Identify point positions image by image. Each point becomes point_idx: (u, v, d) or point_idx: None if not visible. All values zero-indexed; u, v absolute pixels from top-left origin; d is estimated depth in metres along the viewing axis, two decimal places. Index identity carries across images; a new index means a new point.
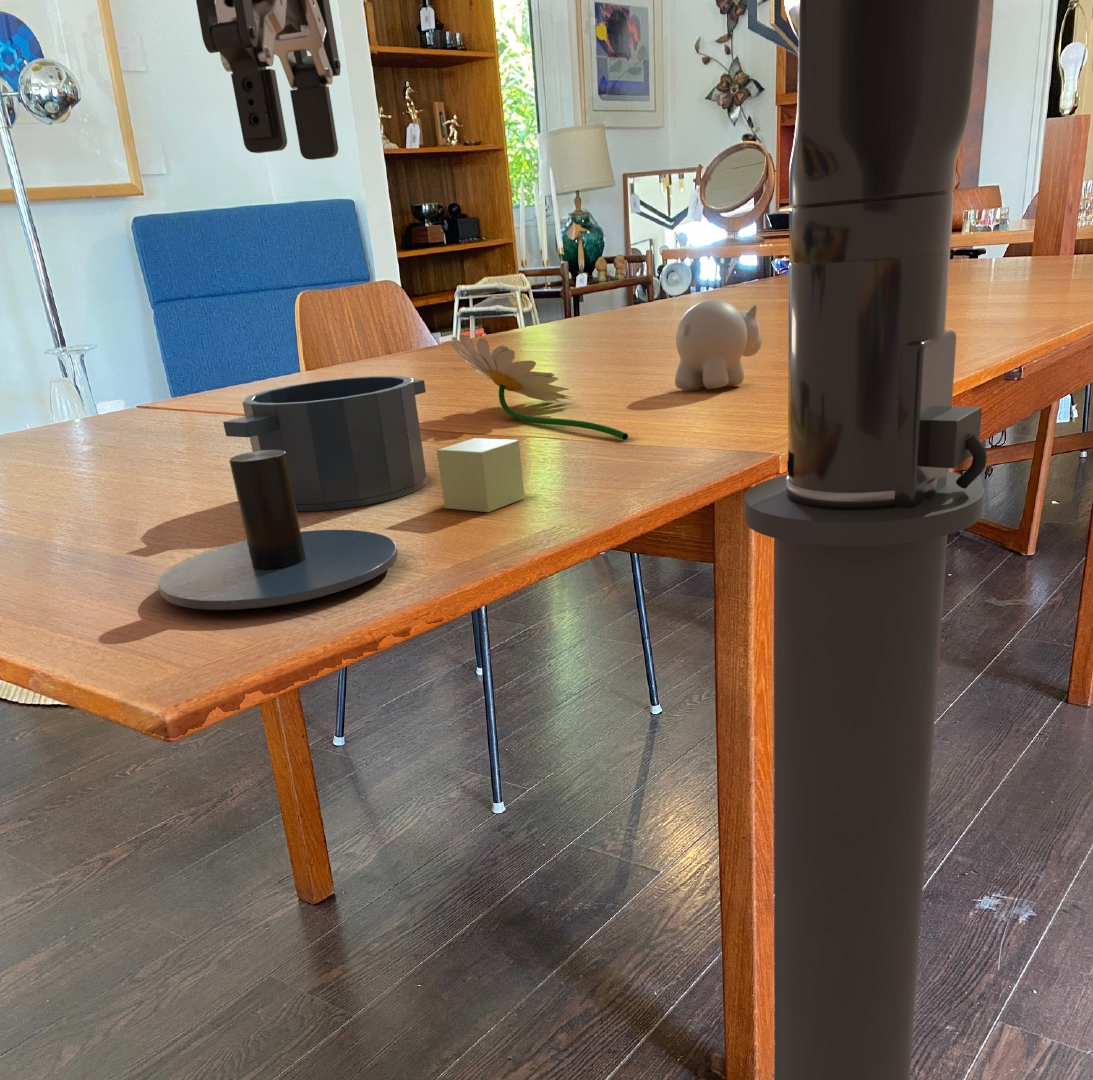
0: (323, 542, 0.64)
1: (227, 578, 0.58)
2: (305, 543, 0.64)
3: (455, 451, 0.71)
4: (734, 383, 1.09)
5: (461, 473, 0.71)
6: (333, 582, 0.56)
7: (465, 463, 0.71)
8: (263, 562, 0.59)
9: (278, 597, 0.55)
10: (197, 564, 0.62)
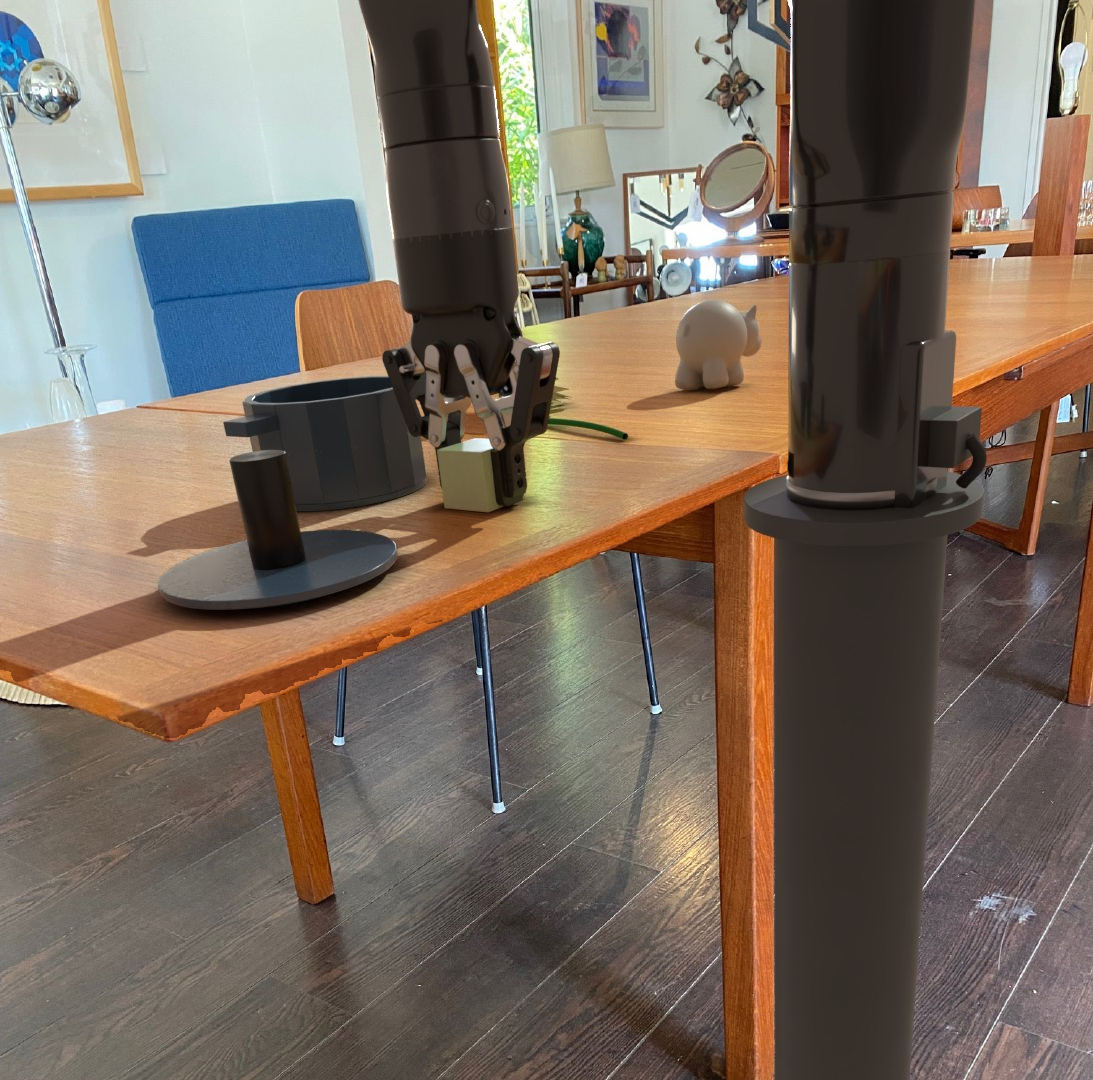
0: (323, 542, 0.64)
1: (227, 578, 0.58)
2: (305, 543, 0.64)
3: (455, 451, 0.71)
4: (734, 383, 1.09)
5: (461, 473, 0.71)
6: (333, 582, 0.56)
7: (465, 463, 0.71)
8: (263, 562, 0.59)
9: (278, 597, 0.55)
10: (197, 564, 0.62)
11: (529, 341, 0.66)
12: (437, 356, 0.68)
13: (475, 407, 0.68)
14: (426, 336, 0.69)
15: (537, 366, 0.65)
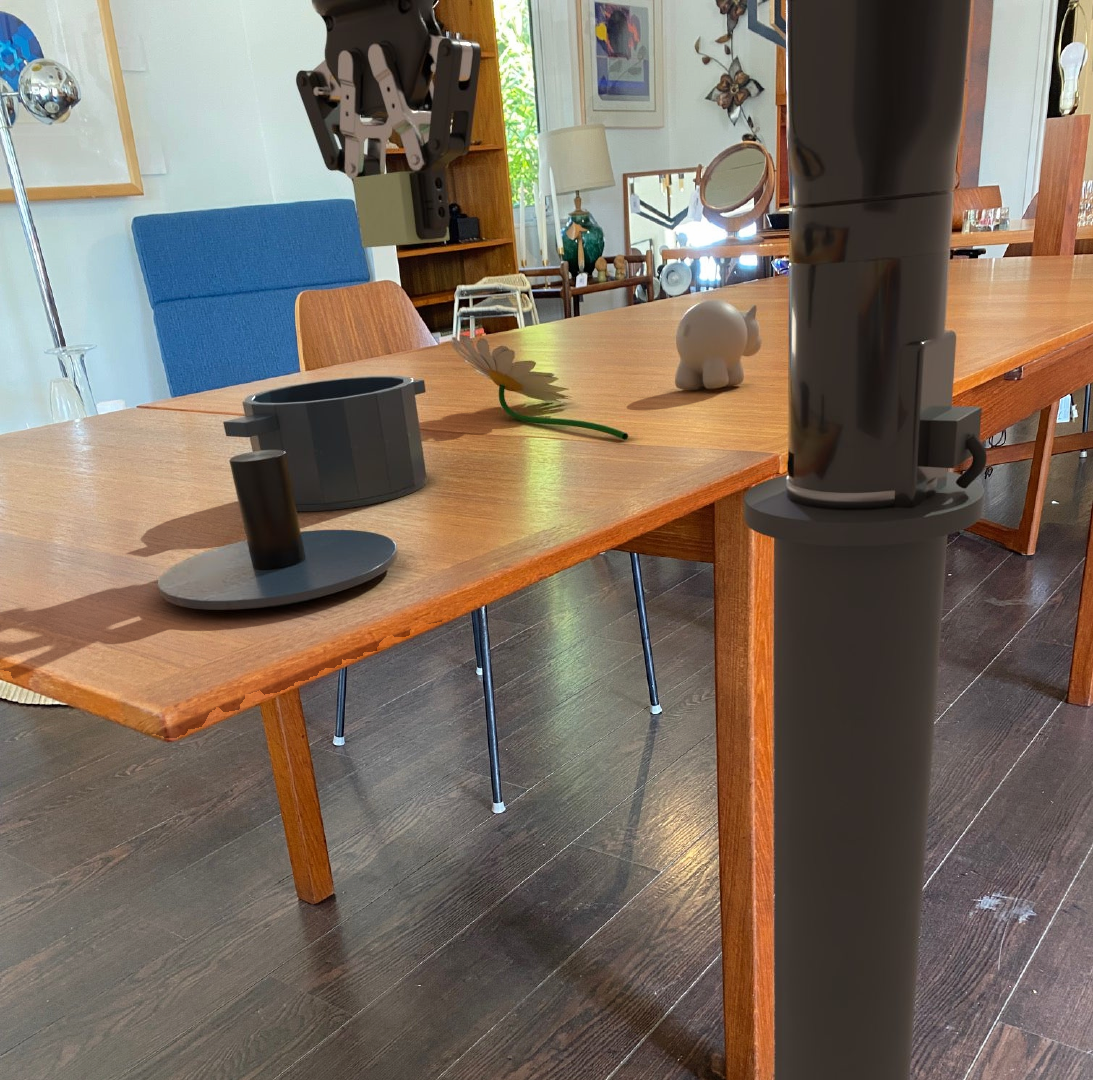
0: (323, 542, 0.64)
1: (227, 578, 0.58)
2: (305, 543, 0.64)
3: (372, 176, 0.66)
4: (734, 383, 1.09)
5: (378, 202, 0.66)
6: (333, 582, 0.56)
7: (382, 188, 0.65)
8: (263, 562, 0.59)
9: (278, 597, 0.55)
10: (197, 564, 0.62)
11: None
12: (351, 63, 0.63)
13: (391, 119, 0.63)
14: (340, 45, 0.64)
15: (455, 61, 0.60)
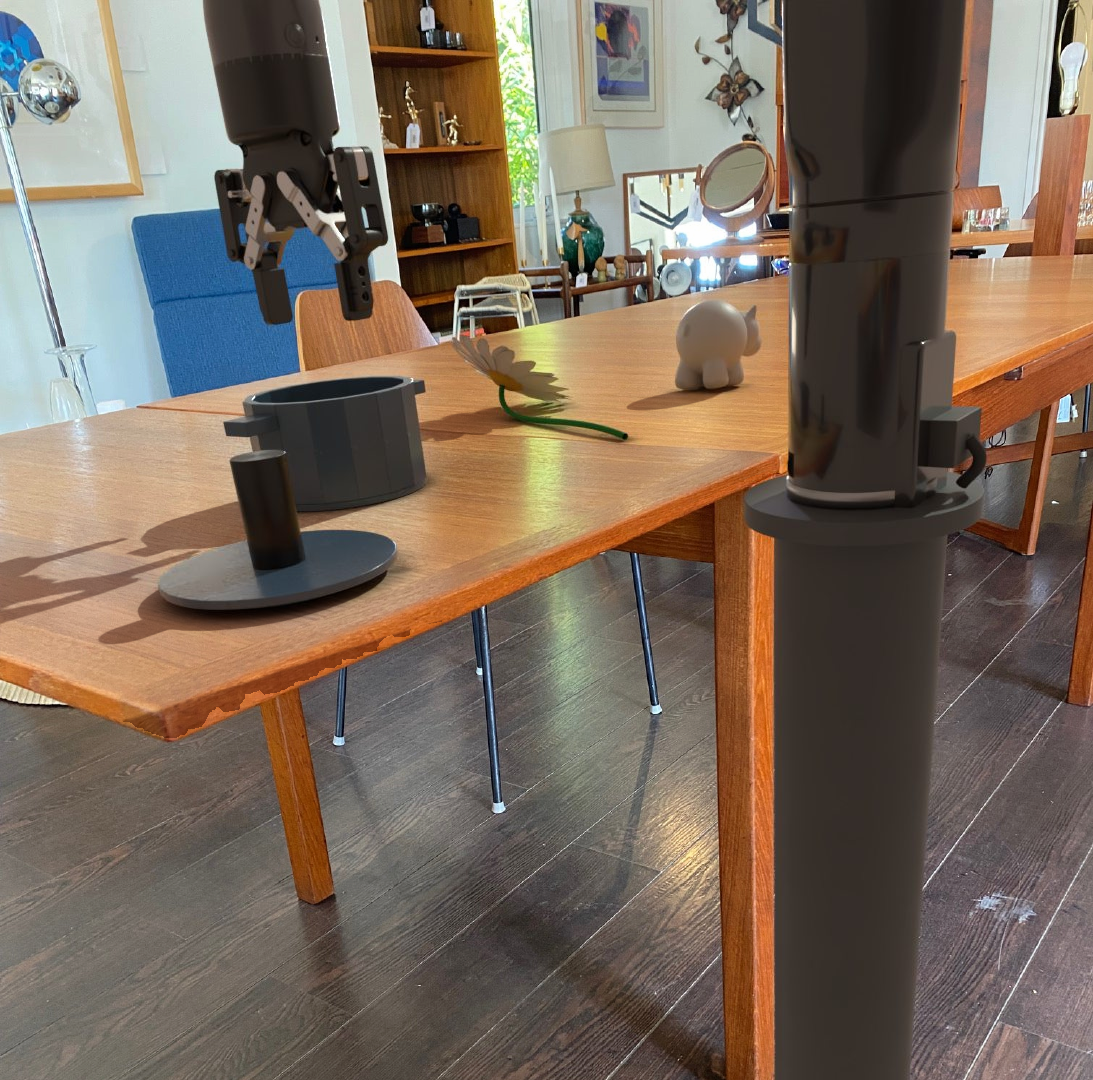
0: (323, 542, 0.64)
1: (227, 578, 0.58)
2: (305, 543, 0.64)
3: None
4: (734, 383, 1.09)
5: None
6: (333, 582, 0.56)
7: None
8: (263, 562, 0.59)
9: (278, 597, 0.55)
10: (197, 564, 0.62)
11: None
12: (263, 186, 0.72)
13: (310, 227, 0.71)
14: (256, 174, 0.73)
15: (350, 162, 0.68)
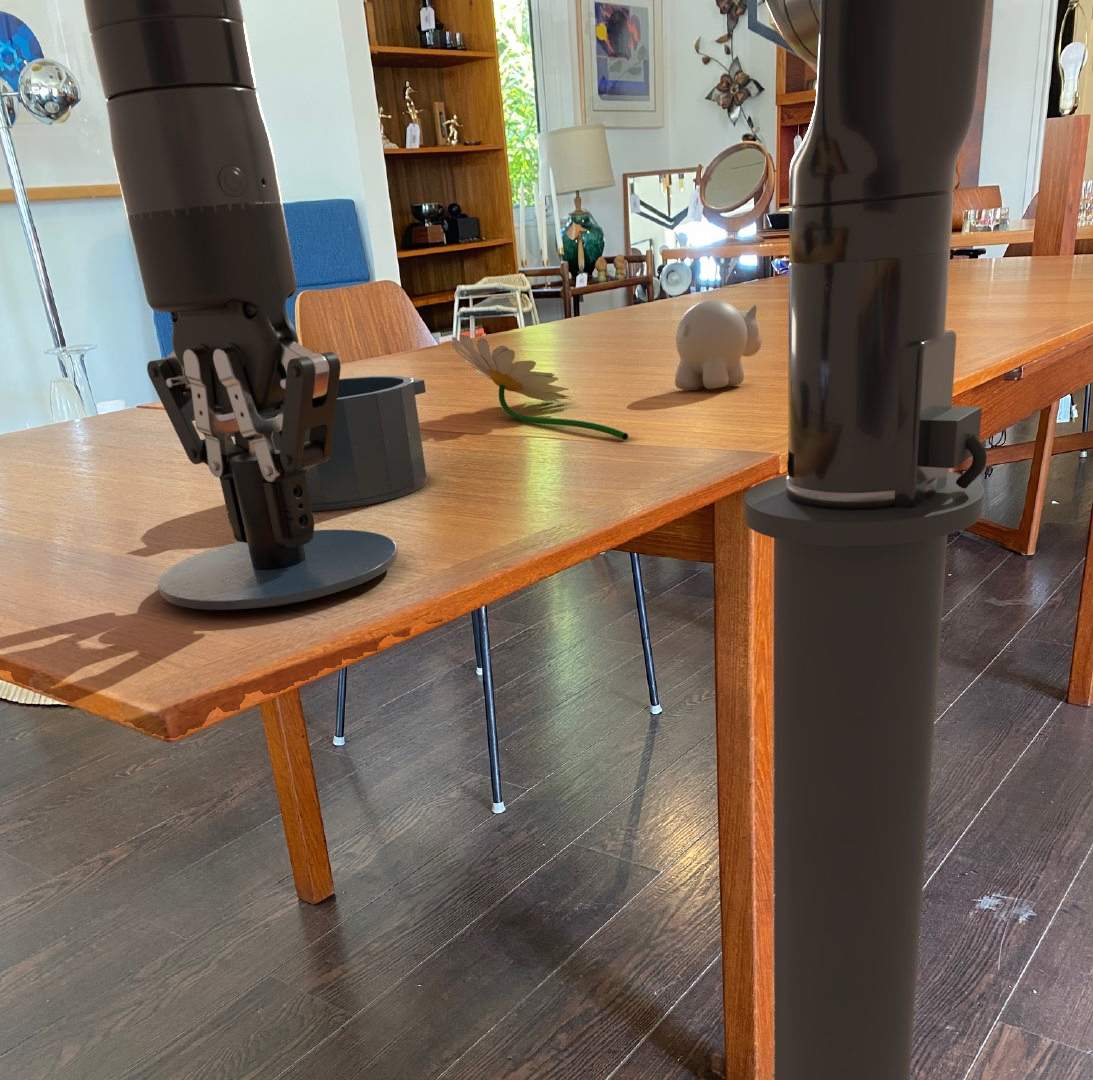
0: (323, 542, 0.64)
1: (227, 578, 0.58)
2: None
3: None
4: (734, 383, 1.09)
5: None
6: (333, 582, 0.56)
7: None
8: (263, 562, 0.59)
9: (278, 597, 0.55)
10: (197, 564, 0.62)
11: (302, 349, 0.53)
12: (196, 363, 0.55)
13: (240, 427, 0.55)
14: (186, 337, 0.56)
15: (307, 383, 0.52)
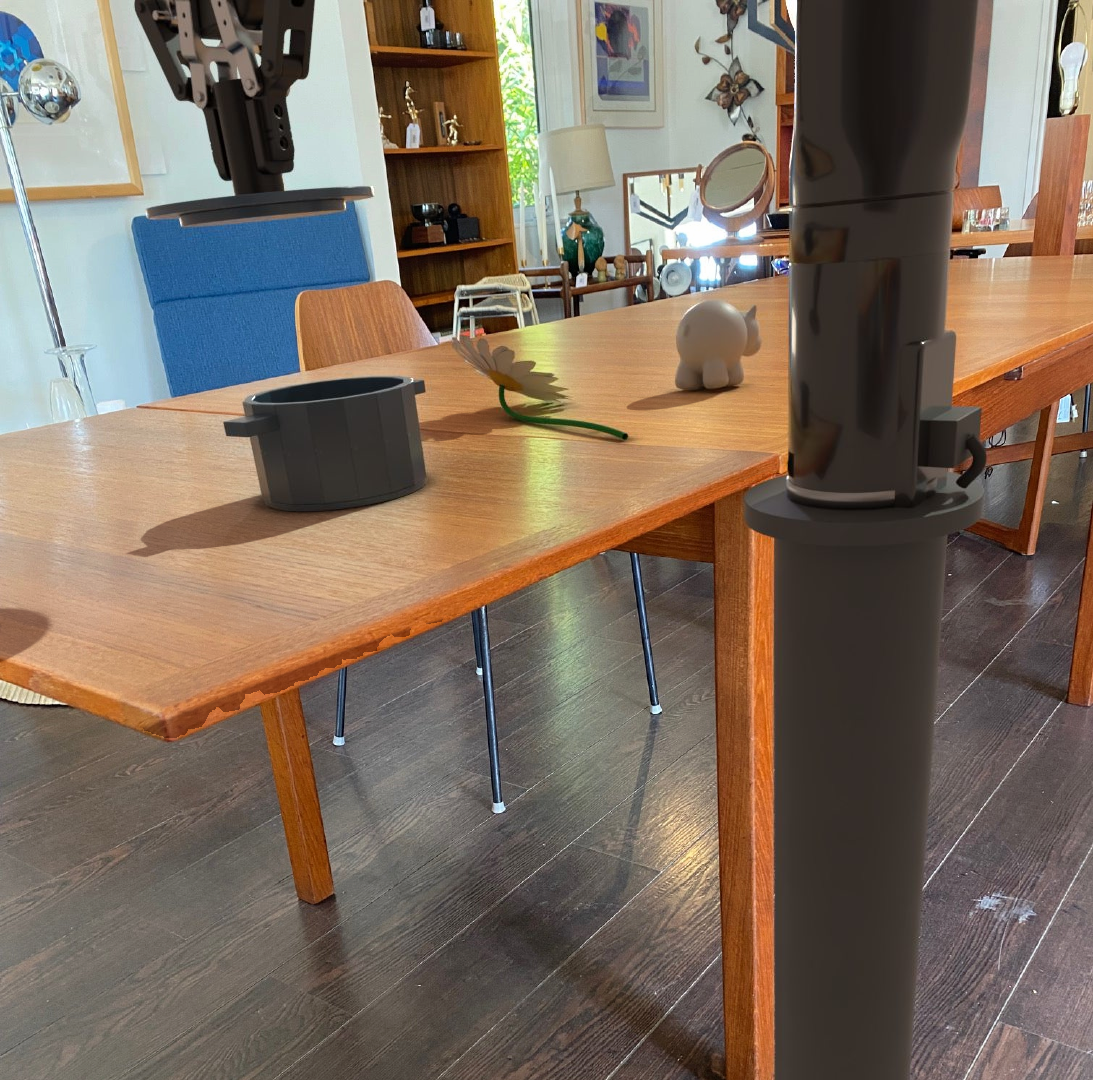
0: None
1: None
2: None
3: None
4: (734, 383, 1.09)
5: None
6: None
7: None
8: (246, 190, 0.62)
9: (260, 195, 0.58)
10: None
11: None
12: None
13: (223, 38, 0.58)
14: None
15: None
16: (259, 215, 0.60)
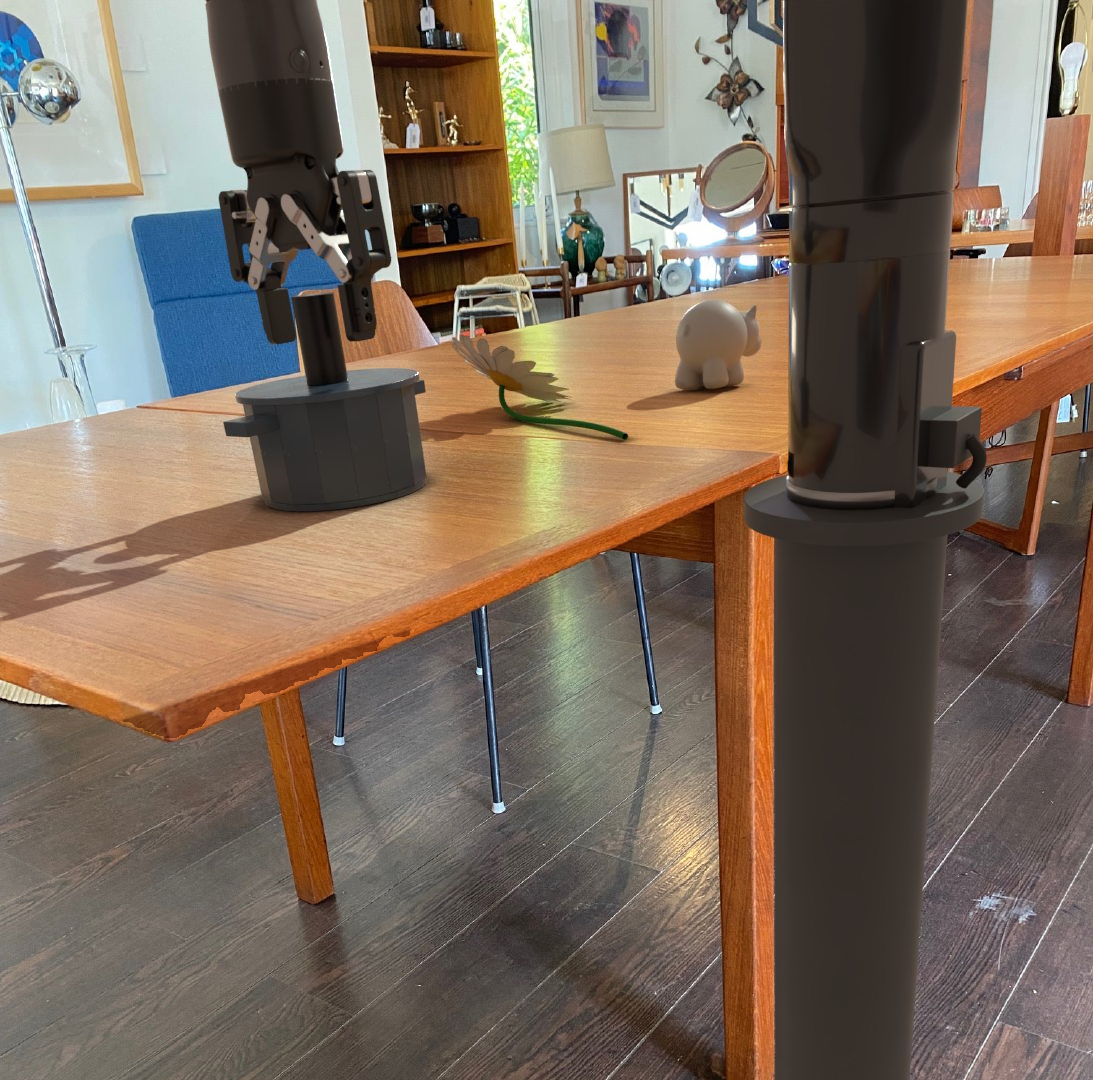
0: (360, 373, 0.81)
1: (289, 390, 0.76)
2: None
3: None
4: (734, 383, 1.09)
5: None
6: (372, 386, 0.73)
7: None
8: (316, 379, 0.77)
9: (331, 394, 0.72)
10: (263, 386, 0.79)
11: None
12: (267, 208, 0.72)
13: (314, 249, 0.72)
14: (261, 196, 0.73)
15: (353, 186, 0.68)
16: None
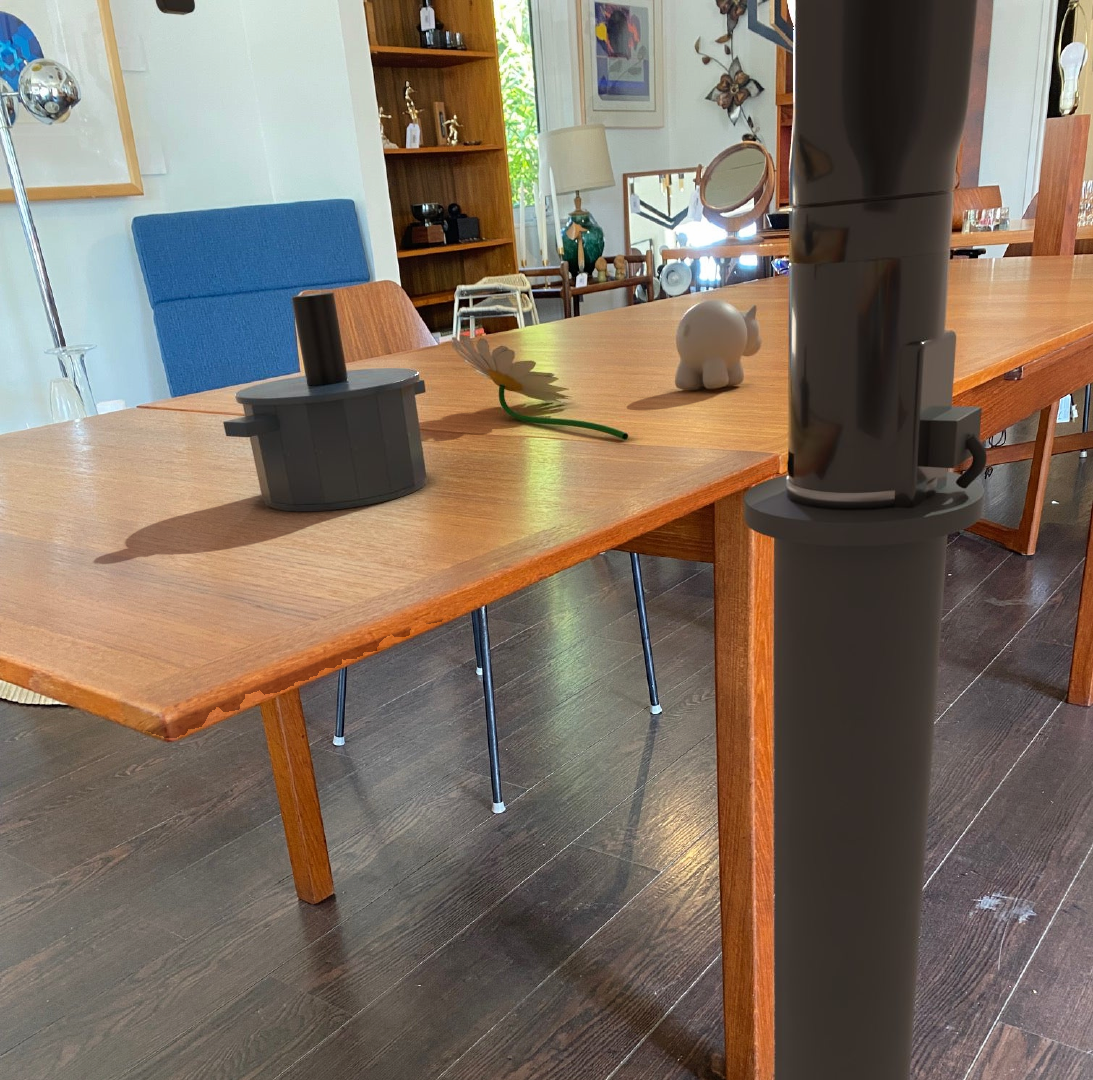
0: (360, 373, 0.81)
1: (289, 390, 0.76)
2: None
3: None
4: (734, 383, 1.09)
5: None
6: (372, 386, 0.73)
7: None
8: (316, 379, 0.77)
9: (331, 394, 0.72)
10: (263, 386, 0.79)
11: None
12: None
13: None
14: None
15: None
16: None
